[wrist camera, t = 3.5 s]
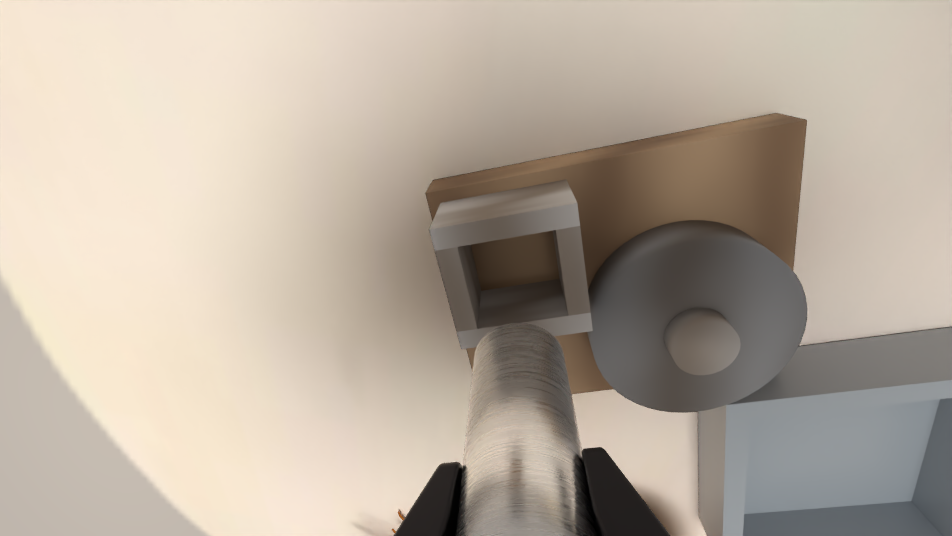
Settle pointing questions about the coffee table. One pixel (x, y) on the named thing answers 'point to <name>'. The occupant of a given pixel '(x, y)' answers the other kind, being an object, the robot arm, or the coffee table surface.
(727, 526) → the tray
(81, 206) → the coffee table surface
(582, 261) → the pulley block
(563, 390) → the lock pin
